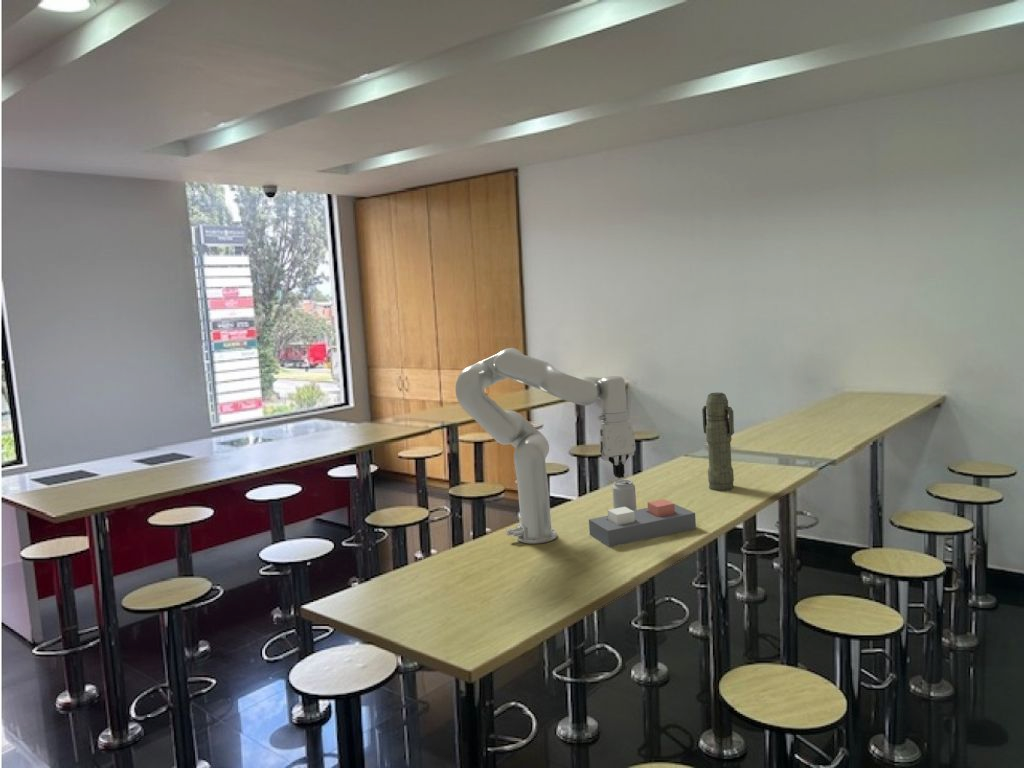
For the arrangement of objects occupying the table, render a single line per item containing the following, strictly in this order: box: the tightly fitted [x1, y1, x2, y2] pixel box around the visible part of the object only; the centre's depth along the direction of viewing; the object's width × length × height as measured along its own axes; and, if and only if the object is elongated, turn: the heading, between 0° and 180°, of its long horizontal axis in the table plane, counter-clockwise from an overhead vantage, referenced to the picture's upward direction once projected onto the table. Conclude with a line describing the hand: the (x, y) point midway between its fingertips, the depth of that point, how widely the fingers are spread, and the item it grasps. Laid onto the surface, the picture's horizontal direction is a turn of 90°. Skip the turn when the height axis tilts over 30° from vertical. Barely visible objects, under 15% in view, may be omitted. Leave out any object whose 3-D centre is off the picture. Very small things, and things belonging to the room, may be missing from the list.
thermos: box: [701, 392, 735, 492], centre depth 262 cm, size 9×12×35 cm
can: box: [611, 479, 638, 511], centre depth 239 cm, size 8×8×12 cm
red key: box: [647, 498, 675, 517], centre depth 224 cm, size 6×6×4 cm
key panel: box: [588, 503, 697, 548], centre depth 223 cm, size 30×13×5 cm, turn 109°
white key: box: [607, 507, 635, 525], centre depth 220 cm, size 6×6×4 cm
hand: (619, 476), depth 218 cm, fingers closed
